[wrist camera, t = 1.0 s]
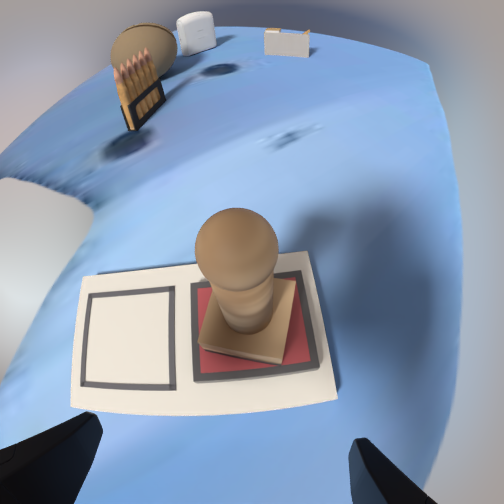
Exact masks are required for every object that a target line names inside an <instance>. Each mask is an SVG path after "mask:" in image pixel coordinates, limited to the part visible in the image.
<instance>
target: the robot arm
mask: <svg viewBox="0 0 504 504" xmlns="http://www.w3.org/2000/svg"><path fill="white" fill-rule="evenodd" d="M102 434H103V428H102V426H101V424H100V421H99V419H98V417H97V415H96V414H94V413H91V412H84V413H82V414H80V415H78V416H76V417H74V418H72V419H69V420H67V421H65V422H63V423H61V424H59V425H57V426H55V427H52V428H50V429H48V430H46V431H44V432H42V433H39V434H37V435H35V436H33V437H30V438H28V439H26V440H23V441H21V442H19V443H17V444H14V445H11V446H9V447H6V448H4V449H1V450H0V504H74V502H75V500H76V498H77V496H78V493H79V491H80V489H81V487H82V485H83V483H84V480H85V478H86V476H87V474H88V472H89V470H90V468H91V465H92V463H93V460H94V458H95V455H96V452H97V449H98V446H99V443H100V440H101V437H102ZM349 471H350V485H351V496H352V502H353V504H437V503H436V502H435V501H434V500H433V499H431V498H430V497H429V496H427V494H426V493H425V492H423V491H422V490H421V489H420V488H419V487H418V486H417V485H416V484H415V483H414V482H412V481H411V480H410V479H409V478H408V477H407V476H406V475H405V474H404V473H403V472H402V471H401V470H400V469H398V468H397V467H396V466H395V465H394V464H393V463H392V462H391V461H390V460H389V459H388V458H387V457H386V456H385V455H384V454H383V453H382V452H381V451H380V450H379V449H378V448H377V447H376V446H375V445H374V444H372V443H371V442H370V441H369V440H368V439H367V438H357V439H355V440H354V441H353V443H352V446H351V449H350V452H349Z"/></svg>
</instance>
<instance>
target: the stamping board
mask: <svg viewBox="0 0 504 504" xmlns="http://www.w3.org/2000/svg"><path fill="white" fill-rule="evenodd" d="M297 270H301V271H302V276H303V281H304V286H305V291H306V295H307V300H308V305H309V310H310V316H311V321H312V326H313V331H314V336H315V342H316V347H317V353H318V359H319V364H320V368H319V369H318V370H316V371H310V372H304V373H298V374H291V375H284V376H277V377H269V378H261V379H252V380H242V381H230V382H217V383H199V384H197V383H195V382H193V365H192V341H191V295H190V283H195V282H204V281H208V280H207V279H206V278H205V277H204V275H203V274H202V272H201V271H200V269H199V267H198V264H191V265H182V266H173V267H164V268H156V269H147V270H138V271H129V272H120V273H111V274H102V275H93V276H84V277H83V280H82V285H81V291H80V297H79V303H78V310H77V318H76V326H75V334H74V345H73V357H72V373H71V407H74V408H79V409H86V410H93V411H101V412H111V413H121V414H134V415H154V416H208V415H227V414H241V413H252V412H262V411H270V410H278V409H285V408H292V407H299V406H305V405H310V404H316V403H321V402H326V401H331V400H335V399H338V398H337V392H336V386H335V380H334V374H333V369H332V363H331V358H330V353H329V347H328V342H327V337H326V332H325V327H324V322H323V317H322V313H321V308H320V303H319V299H318V294H317V290H316V285H315V281H314V277H313V272H312V268H311V264H310V259H309V255H308V251H301V252H292V253H284V254H278V259H277V263H276V265H275V267H274V273H281V272H289V271H297Z"/></svg>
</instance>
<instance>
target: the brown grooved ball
mask: <svg viewBox="0 0 504 504" xmlns="http://www.w3.org/2000/svg"><path fill="white" fill-rule="evenodd" d="M145 47H146V48H147V49H148V50H149V52H150V54H151V57H152V60H153V64H154V66H155V68H156V72H157V76H158V78H159V77H161V76H162V75H163V74H165V73H166V72H167V71H168V70H169V69H170V67H171V66H172V64H173V63H174V61H175V58H176V55H177V43H176V39H175V37H174V35H173V33H172V32H171V31H170V30H169V29H167V28H166V27H164V26H162V25H159V24H155V23H140V24H138V25H133V26H131V27H129V28H127V29H126V30H124V31H123V32H122V33H121V34H120V35H119V36H118V37H117V39H116V41H115V42H114V44H113V46H112V50H111V63H112V66H113V68H115V67H116V68H117V69H118V70H119V72H120V74H121V70H120V65H121V63H123V64H124V65H125V67H126V68H127V59H128V58H129V59H130V60H131V62H132V64H133V55H134V54H135V55H136V57H137V58H138V60H139V51H141V52H142V53H143V55H144V49H145ZM144 57H145V56H144Z"/></svg>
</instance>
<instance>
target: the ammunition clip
mask: <svg viewBox="0 0 504 504" xmlns="http://www.w3.org/2000/svg"><path fill="white" fill-rule="evenodd" d="M144 56H145V57H144ZM120 70H121V74H120V72H119V70H118V69H117V68H116V67H115V68H114V78H115V82H116V86H117V91H118V95H119V98H120V101H121V104H122V105H121V106H120V107H121V110H122V113H123V116H124V119H125V122H126V125H127V128H128V131H138V130H139V128H140V127H141V126H142V125H143V124H144V123H145V122H146V121H147V120H148V119H149V117H150V116H151V115H152V114H153V113H154V112H155V111H156V110H157V109H158V108H159V107H160V106H161V105H162V104H163V103H164V102H165V101H166V98H165V95H164V91H163V88H162V84H161V80H160V78H158V76H157V72H156V68H155V66H154V64H153V60H152V57H151V54H150V52H149V50H148V49H147V48H146V47H145V49H144V55H143V53H142V52H141V51H139V60H138V58H137V57H136V55H135V54H134V55H133V64H132V62H131V60H130V59H129V58H128V59H127V68H126V67H125V65H124V64H123V63H121V65H120Z"/></svg>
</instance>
